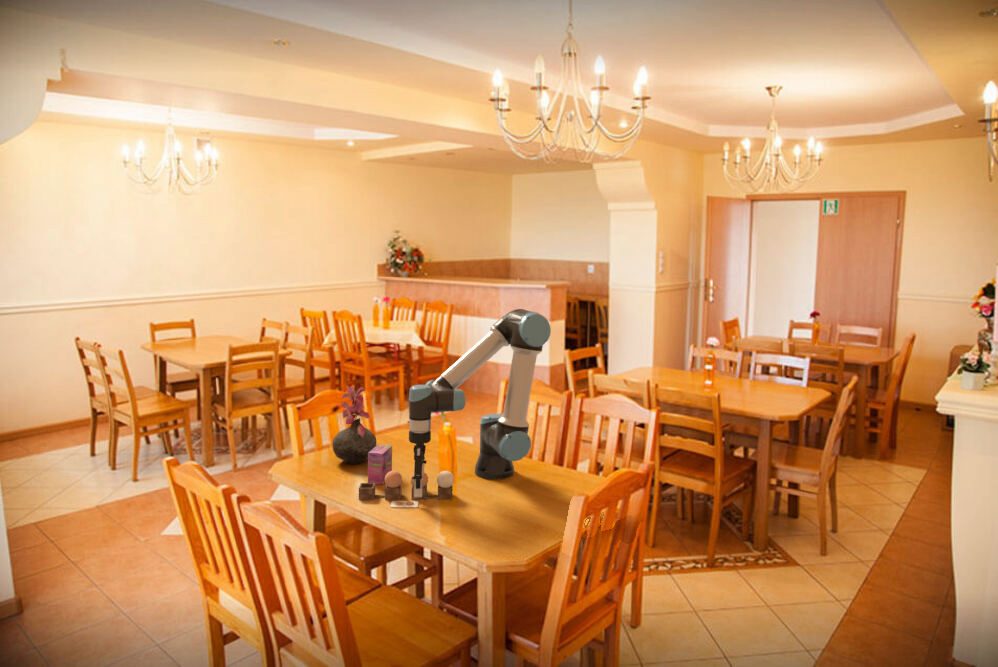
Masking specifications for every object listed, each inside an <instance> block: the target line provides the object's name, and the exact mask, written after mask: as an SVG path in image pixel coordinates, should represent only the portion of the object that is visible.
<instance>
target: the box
mask: <svg viewBox="0 0 998 667" xmlns="http://www.w3.org/2000/svg"><path fill="white" fill-rule="evenodd" d="M390 471H393V445H391V444H384V443H378V444H376V447H375V448H373V449H372V450H371V451H370V452H368V458H367V483H375V485H383V484H384V483H385V476H386V474H387V473H388V472H390Z"/></svg>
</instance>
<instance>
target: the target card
mask: <svg viewBox="0 0 998 667" xmlns="http://www.w3.org/2000/svg"><path fill="white" fill-rule="evenodd" d="M418 506H419V500H392V501H391V503H390V509H395V508H396V509H397V508H400V509H404V508H405V509H416V508H418Z"/></svg>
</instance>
